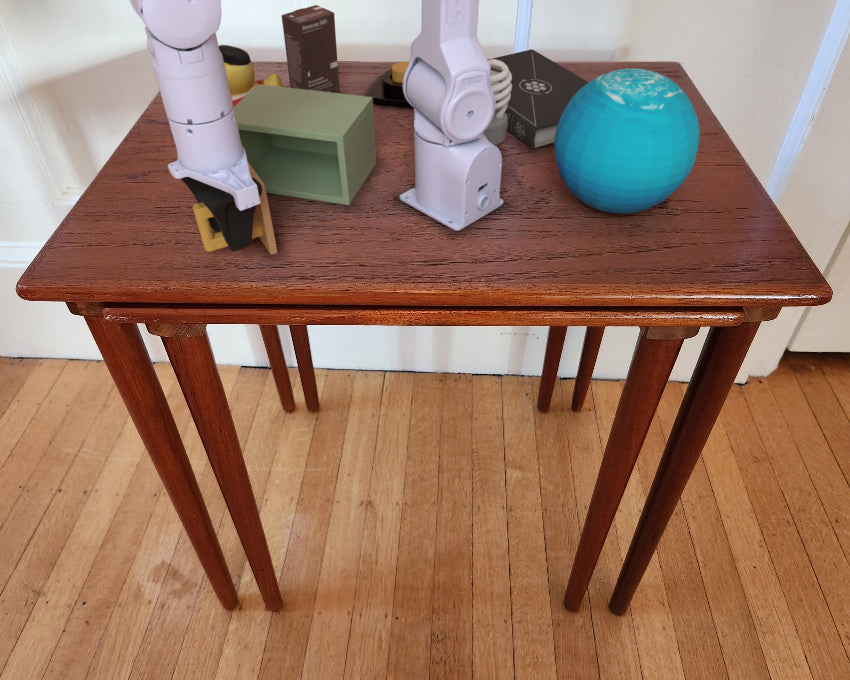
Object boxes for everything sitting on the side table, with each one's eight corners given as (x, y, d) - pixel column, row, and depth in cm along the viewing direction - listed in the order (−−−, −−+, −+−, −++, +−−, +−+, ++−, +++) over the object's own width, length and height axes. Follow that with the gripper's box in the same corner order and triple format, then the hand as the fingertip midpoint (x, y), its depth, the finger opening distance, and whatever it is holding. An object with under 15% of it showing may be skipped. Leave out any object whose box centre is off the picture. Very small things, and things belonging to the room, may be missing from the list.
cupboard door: (213, 273, 69) (194, 203, 64) (177, 205, 79) (157, 138, 73) (278, 253, 72) (264, 183, 66) (235, 189, 81) (220, 123, 75)
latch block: (444, 87, 101) (445, 69, 99) (430, 111, 96) (430, 91, 94) (381, 80, 103) (380, 62, 101) (363, 103, 98) (362, 84, 96)
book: (447, 88, 101) (448, 68, 99) (530, 68, 106) (532, 48, 104) (530, 150, 87) (533, 129, 85) (621, 124, 92) (625, 103, 90)
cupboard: (349, 205, 79) (342, 136, 73) (234, 188, 81) (219, 120, 75) (376, 163, 85) (372, 96, 80) (270, 148, 88) (258, 84, 82)
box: (310, 111, 96) (298, 22, 88) (291, 101, 98) (278, 14, 90) (343, 98, 99) (335, 10, 91) (324, 89, 101) (314, 3, 93)
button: (420, 75, 99) (419, 63, 98) (413, 85, 96) (412, 73, 95) (396, 72, 100) (395, 60, 98) (388, 82, 97) (388, 70, 96)
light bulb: (456, 162, 85) (459, 66, 77) (468, 141, 89) (471, 48, 81) (501, 168, 84) (508, 72, 76) (510, 147, 88) (518, 53, 80)
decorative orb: (534, 173, 83) (548, 48, 73) (653, 166, 84) (684, 42, 74) (563, 245, 73) (585, 111, 62) (700, 236, 74) (744, 103, 63)
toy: (208, 110, 97) (190, 38, 90) (282, 98, 99) (271, 27, 92) (217, 139, 90) (199, 64, 83) (296, 125, 93) (285, 51, 86)
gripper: (127, 93, 62) (167, 219, 72) (189, 156, 54) (226, 289, 63) (199, 74, 65) (229, 196, 75) (269, 130, 57) (293, 260, 66)
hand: (232, 237), depth 69 cm, fingers open, 3 cm apart
